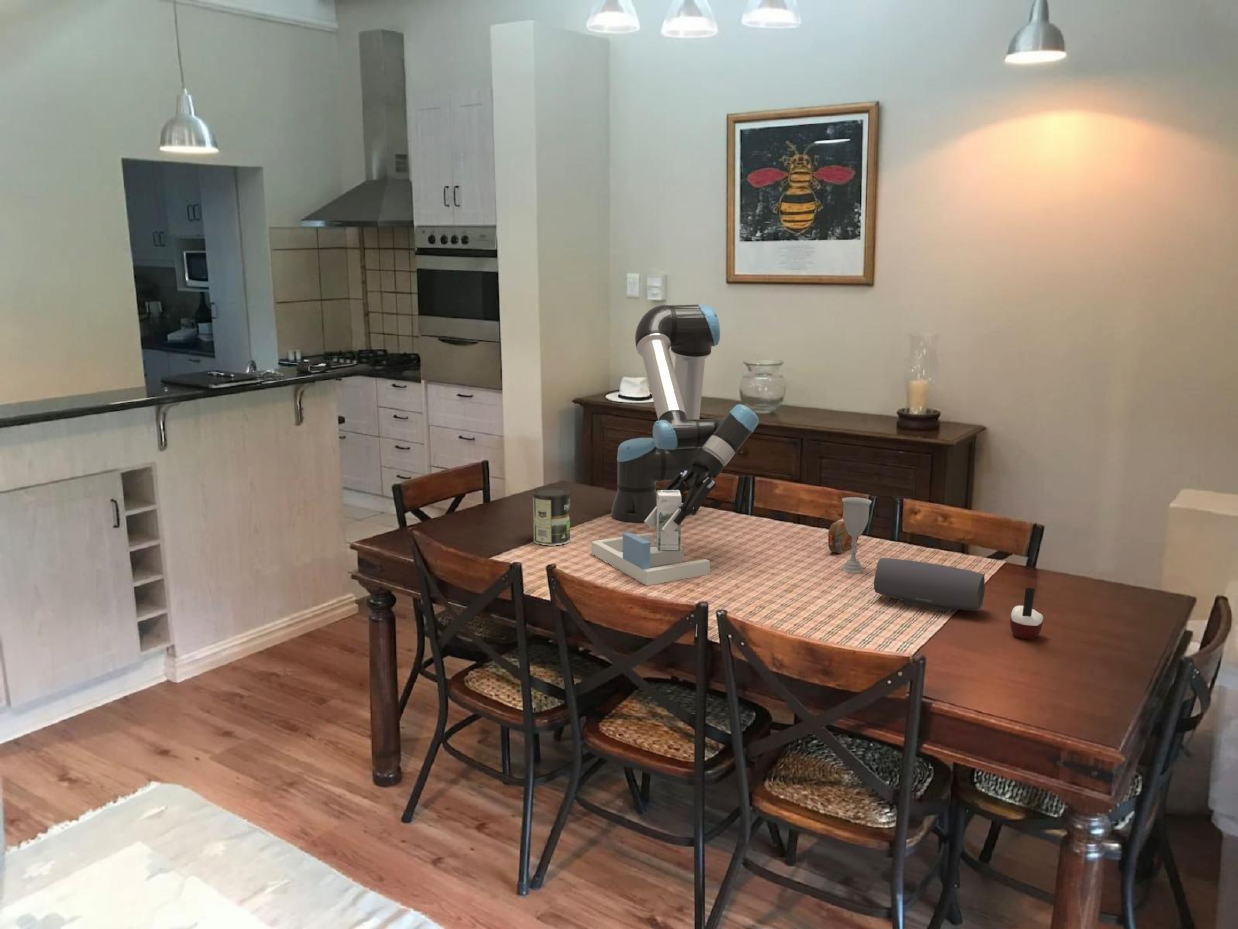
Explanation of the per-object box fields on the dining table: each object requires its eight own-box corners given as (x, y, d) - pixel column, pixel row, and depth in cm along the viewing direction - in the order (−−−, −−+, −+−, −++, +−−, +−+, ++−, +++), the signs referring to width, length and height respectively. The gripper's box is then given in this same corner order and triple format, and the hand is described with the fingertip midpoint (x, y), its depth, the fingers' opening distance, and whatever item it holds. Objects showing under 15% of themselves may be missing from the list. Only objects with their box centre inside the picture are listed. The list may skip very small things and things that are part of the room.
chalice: (834, 571, 248) (838, 501, 244) (842, 564, 254) (845, 496, 250) (863, 575, 245) (867, 505, 241) (870, 568, 251) (874, 499, 247)
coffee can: (571, 536, 278) (571, 487, 275) (569, 546, 268) (568, 496, 265) (535, 535, 278) (534, 487, 276) (531, 546, 268) (530, 495, 265)
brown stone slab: (836, 557, 260) (837, 526, 259) (825, 554, 262) (826, 524, 260) (859, 544, 272) (861, 514, 270) (849, 542, 274) (850, 512, 272)
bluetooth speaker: (983, 609, 222) (987, 566, 220) (975, 622, 215) (979, 578, 213) (883, 591, 234) (885, 550, 232) (871, 603, 226) (874, 561, 224)
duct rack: (591, 554, 262) (591, 517, 259) (649, 544, 270) (650, 509, 268) (647, 585, 237) (647, 545, 235) (709, 574, 245) (710, 535, 243)
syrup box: (678, 545, 249) (679, 488, 246) (680, 552, 243) (681, 494, 240) (656, 545, 248) (656, 489, 246) (657, 552, 243) (658, 494, 240)
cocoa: (1017, 629, 212) (1021, 574, 210) (1048, 635, 207) (1052, 580, 206) (1000, 639, 205) (1004, 583, 203) (1031, 646, 201) (1035, 589, 199)
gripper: (745, 475, 240) (688, 548, 236) (698, 460, 258) (644, 528, 253) (727, 455, 237) (669, 529, 232) (681, 442, 254) (626, 510, 250)
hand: (656, 528), depth 243 cm, fingers closed on syrup box, 7 cm apart
